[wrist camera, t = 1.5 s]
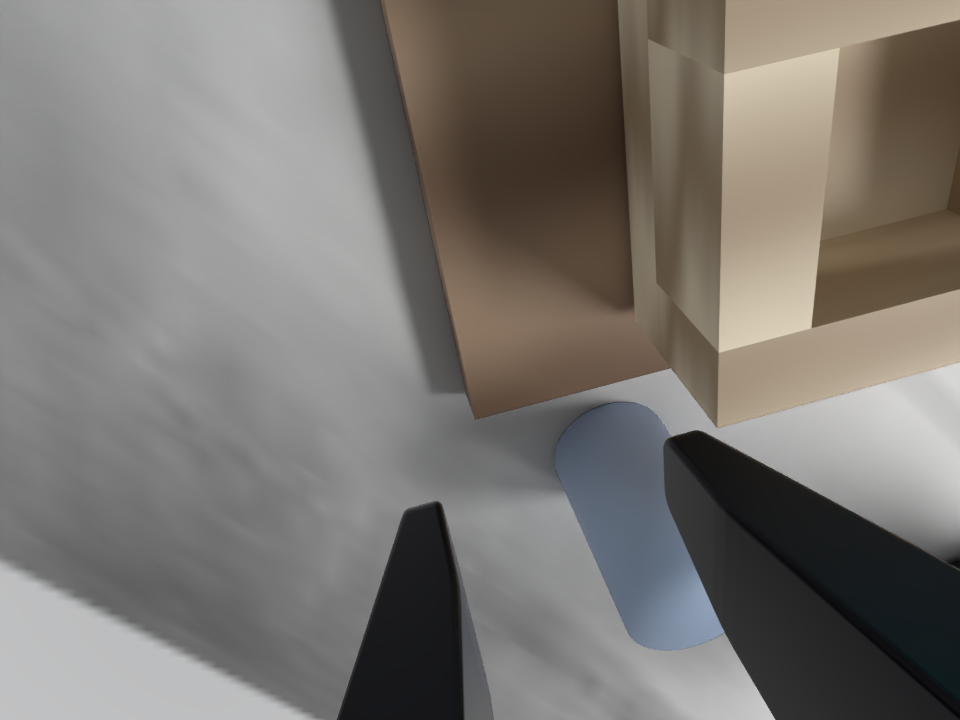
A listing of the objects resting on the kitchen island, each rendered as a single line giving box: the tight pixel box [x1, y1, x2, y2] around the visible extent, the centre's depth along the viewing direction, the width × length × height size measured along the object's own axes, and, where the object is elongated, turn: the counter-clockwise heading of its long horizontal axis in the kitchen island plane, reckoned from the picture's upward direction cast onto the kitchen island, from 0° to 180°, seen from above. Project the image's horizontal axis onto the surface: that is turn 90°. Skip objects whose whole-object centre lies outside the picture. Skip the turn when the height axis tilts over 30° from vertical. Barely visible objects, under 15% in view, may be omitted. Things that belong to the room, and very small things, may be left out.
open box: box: [618, 0, 960, 428], centre depth 15 cm, size 9×9×4 cm
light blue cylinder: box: [554, 402, 724, 650], centre depth 21 cm, size 4×4×6 cm
